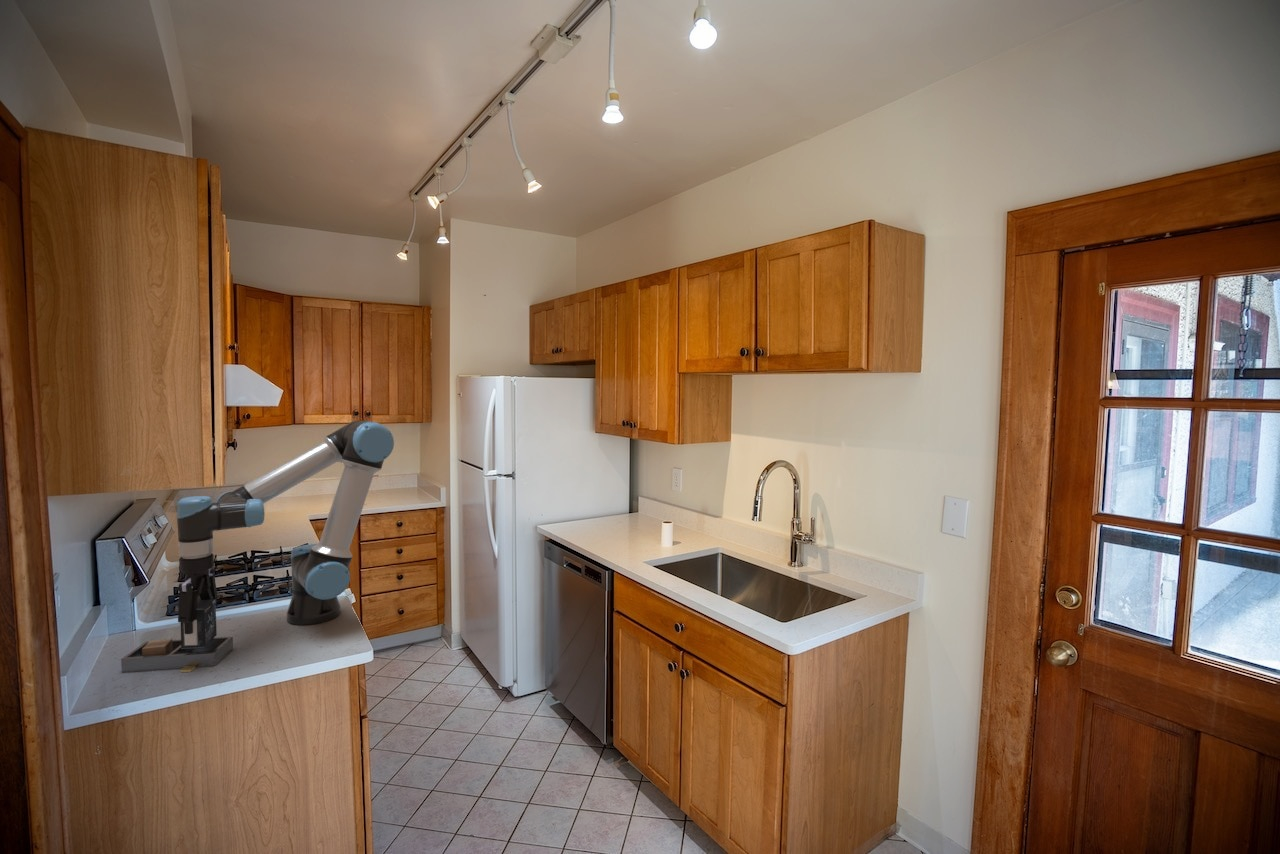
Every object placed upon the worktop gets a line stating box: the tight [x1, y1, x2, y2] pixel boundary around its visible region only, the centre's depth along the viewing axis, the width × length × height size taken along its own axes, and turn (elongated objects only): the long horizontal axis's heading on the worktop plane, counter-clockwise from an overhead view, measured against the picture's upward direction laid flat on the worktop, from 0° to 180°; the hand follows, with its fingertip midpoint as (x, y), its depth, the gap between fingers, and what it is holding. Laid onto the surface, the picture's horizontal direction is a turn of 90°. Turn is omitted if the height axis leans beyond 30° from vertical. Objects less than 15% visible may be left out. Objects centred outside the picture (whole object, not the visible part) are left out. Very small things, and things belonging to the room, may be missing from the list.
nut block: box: [142, 638, 173, 656], centre depth 165 cm, size 5×5×5 cm
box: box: [180, 599, 218, 649], centre depth 166 cm, size 8×6×11 cm
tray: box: [120, 636, 234, 673], centre depth 165 cm, size 13×22×4 cm, turn 100°
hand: (199, 637), depth 166 cm, fingers closed on box, 8 cm apart
